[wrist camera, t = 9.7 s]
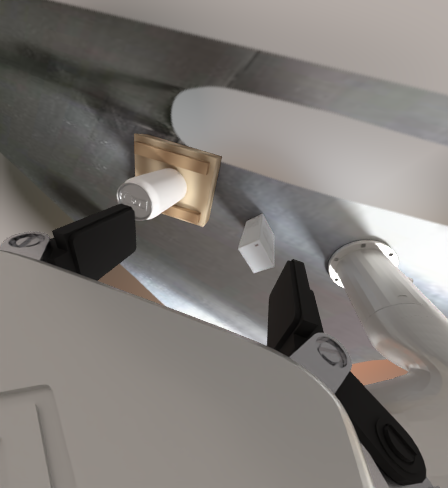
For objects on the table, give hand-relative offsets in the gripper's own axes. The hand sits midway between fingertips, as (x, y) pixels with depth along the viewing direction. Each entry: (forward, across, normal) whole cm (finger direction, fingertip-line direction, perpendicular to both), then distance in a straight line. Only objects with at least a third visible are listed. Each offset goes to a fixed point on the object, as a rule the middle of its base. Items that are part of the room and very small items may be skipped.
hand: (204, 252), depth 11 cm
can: (+26, +15, +5) cm, 30 cm away
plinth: (+30, +15, +5) cm, 34 cm away
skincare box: (+30, -5, +10) cm, 32 cm away
